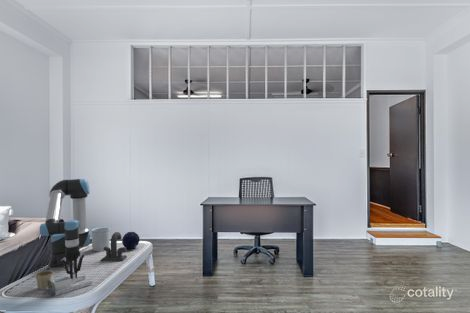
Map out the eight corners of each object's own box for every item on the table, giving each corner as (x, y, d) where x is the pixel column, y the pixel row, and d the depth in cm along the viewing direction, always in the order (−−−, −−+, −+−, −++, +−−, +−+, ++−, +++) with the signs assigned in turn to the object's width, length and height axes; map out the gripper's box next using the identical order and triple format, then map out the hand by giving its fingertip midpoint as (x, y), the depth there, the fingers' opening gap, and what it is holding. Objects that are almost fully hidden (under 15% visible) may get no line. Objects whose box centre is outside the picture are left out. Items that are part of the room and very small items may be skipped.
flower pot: (50, 282, 186) (49, 269, 186) (55, 286, 180) (55, 272, 180) (32, 288, 179) (32, 274, 179) (38, 292, 173) (37, 277, 173)
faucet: (131, 254, 240) (130, 229, 240) (123, 260, 224) (122, 234, 224) (109, 254, 240) (109, 230, 240) (100, 261, 224) (99, 235, 224)
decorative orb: (135, 245, 246) (138, 228, 255) (117, 245, 246) (121, 229, 255) (140, 251, 257) (142, 235, 266) (123, 251, 257) (126, 235, 266)
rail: (47, 289, 177) (47, 280, 177) (85, 278, 191) (84, 271, 191) (53, 296, 167) (53, 287, 167) (91, 284, 182) (91, 276, 182)
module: (51, 290, 174) (51, 280, 174) (68, 285, 181) (68, 275, 181) (54, 293, 170) (54, 282, 170) (71, 288, 177) (71, 278, 177)
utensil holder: (101, 245, 265) (101, 226, 265) (114, 247, 260) (113, 227, 260) (87, 250, 252) (87, 230, 252) (100, 252, 246) (100, 231, 246)
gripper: (62, 249, 173) (63, 289, 173) (85, 244, 182) (86, 281, 182) (58, 247, 179) (60, 285, 179) (81, 242, 188) (83, 278, 188)
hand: (73, 283), depth 180 cm, fingers closed
